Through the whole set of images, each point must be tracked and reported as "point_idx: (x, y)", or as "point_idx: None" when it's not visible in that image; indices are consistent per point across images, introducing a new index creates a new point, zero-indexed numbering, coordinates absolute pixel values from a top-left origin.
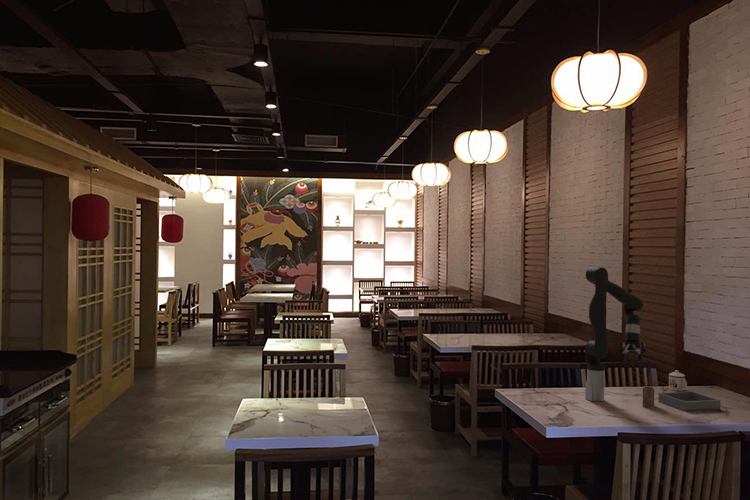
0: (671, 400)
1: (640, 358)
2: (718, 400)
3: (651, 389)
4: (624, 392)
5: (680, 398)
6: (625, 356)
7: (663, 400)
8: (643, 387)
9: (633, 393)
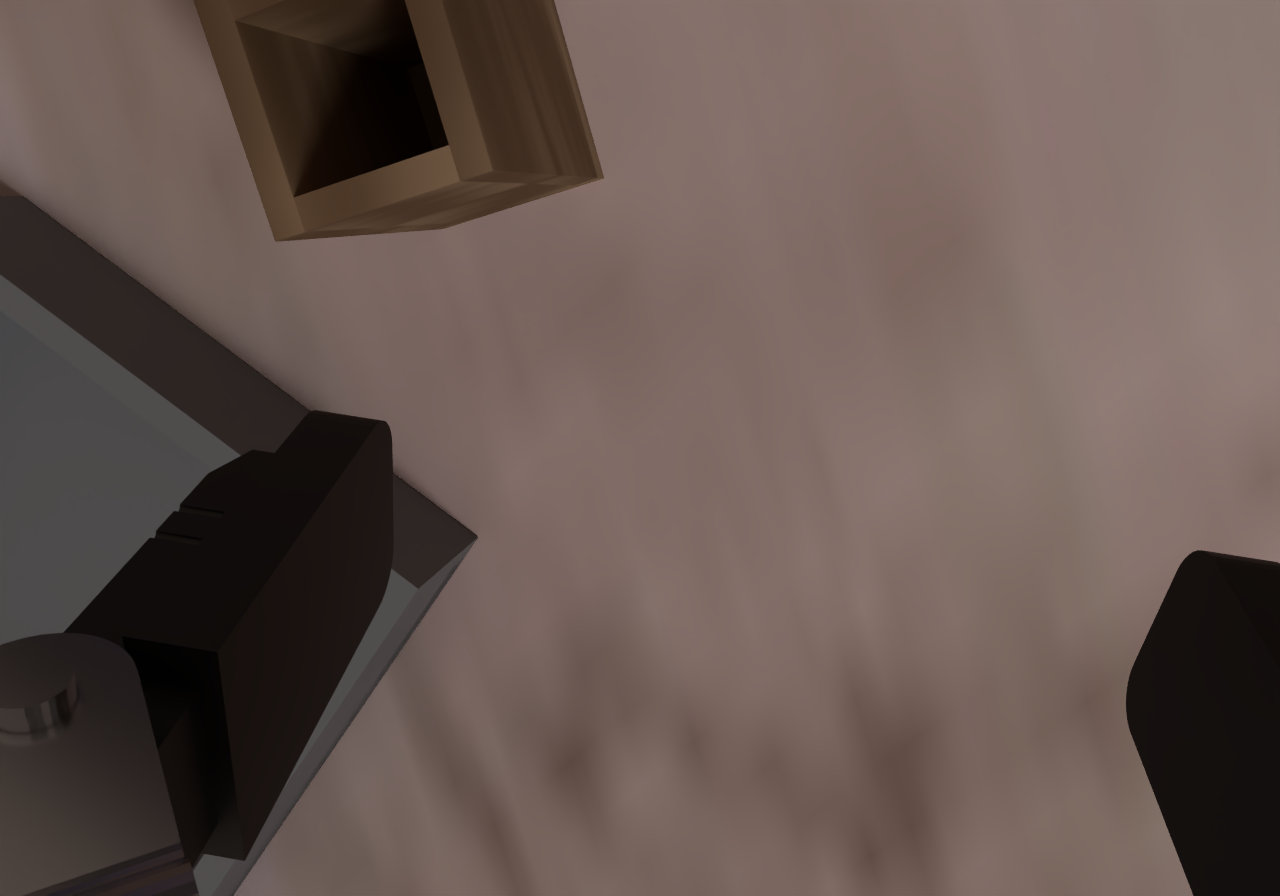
0: (188, 382)
1: (203, 511)
2: None
3: None
4: (1118, 831)
5: None
6: (1256, 826)
7: None
8: (437, 33)
9: (962, 851)
